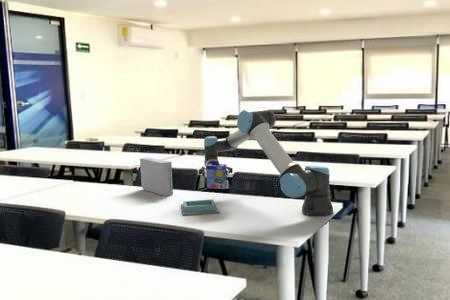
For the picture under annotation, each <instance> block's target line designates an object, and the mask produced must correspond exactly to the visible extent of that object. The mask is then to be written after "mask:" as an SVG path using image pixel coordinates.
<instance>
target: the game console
mask: <svg viewBox="0 0 450 300" xmlns="http://www.w3.org/2000/svg"><path fill="white" fill-rule="evenodd" d="M139 163H140V164H139V165H140V180H141V182H140V183H141V188H142V189H144V190H143V191H146V190H147V192H149V191H150V193H153V192H154V193H153V194H156V193H157V195H161V196H164V197H167V195H168V196H172V194H173V195H174V191H173V190H174V189H173V188H174V186H173V168H172V166H173V165H172V164H173V163H172V161H169V160H164V159H160V158H159V159H158V158H152V157H147V156H146V157H141V158H139Z"/></svg>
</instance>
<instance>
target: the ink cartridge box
mask: <svg viewBox="0 0 450 300" xmlns="http://www.w3.org/2000/svg"><path fill="white" fill-rule="evenodd" d="M213 162H218V163H213ZM226 166H227V164H226V163H220V161H219V160H218V161H212V164H208V165H206V167H205V168H206V171H207V177H206V189H215V190H216V189H217V190H218V189H219V190H220V189H221V190H225V189H226V188H227V187H228V176H227V173H226Z"/></svg>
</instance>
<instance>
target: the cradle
mask: <svg viewBox="0 0 450 300" xmlns="http://www.w3.org/2000/svg"><path fill="white" fill-rule="evenodd" d="M182 202H183V203H182V204H180V207H181V212H182V216H183V217H186V216H187V217H188V216H200V215H201V216H202V215H215V214H220V210H219V209H218V206H217V204H216V202H215V200H214V199H203V200H202V199H199V200H187V201H184V200H183V201H182Z"/></svg>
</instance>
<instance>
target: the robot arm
mask: <svg viewBox="0 0 450 300" xmlns="http://www.w3.org/2000/svg"><path fill="white" fill-rule="evenodd" d="M276 119H277V118H276V115H275V113H274V112H273V110H271V109H269V108H266V107H262V108H259V107H258V108H247V109H243V110H241V111H240V113H239V114H238V116H237V121H236V122H237V128H238V130H236V131H235V132H234V133H231V134H230V135H228V136H227V137H225V138H224V137H223V138H218V137H217V136H214V135H211V136H210V135H209V136H206V137H204V139H203V140H204V141H203V146H204V148H203V149H204V166H201V167H200V168H199V169H198V175H202V177H205V178H207V171H206V165H208V164H212V161H219V158H218V156H219V154H218V153H222V152H223V153H224V152H229V151H234V150H237V149H238V147H239V146H240V145H241V144H243V143H245V142H246V141H248V140H250V139H252V140H254V141H256V143H257V144H258V146H259V147H260V148H261V149H262V151H263V152H264V154H265V155H266V156H267V158H268V159H269V161H270V162H271V164H272V165H273V166H274V167H275V169H276V170H277V172H278V173H279V179H280V180H279V184H280V190H281V191H282V192H283V194H284V195H285V196H287V197H288V198H293V199H294V198H301V197H304V196H305V197H304V200H303V204H302V206H301V213H302V214H304V215H308V216H316V217H323V216H329V215H332V214H333V213H334V207H333V205H332V200H331V198H330V169H329V168H328V167H326V166H323V165H320V166H319V165H305V166H304V169H303V168H302V166H301V165H300V164H299V163H295V162H294V161H293V160H292V158H291V157H290V155H289V154H288V152H287V151H286V150H285V149H284V148H283V146H282V144H280V142H279V141H278V140H277V138H276V137H275V136H274V134H273V133H272V131H271V129H272V128H274V126H275V125H276ZM213 163H218V162H213ZM226 173H227V177H229V176H230V174H233V168H232V167H231V166H230V167H229V166H227V165H226Z"/></svg>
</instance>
